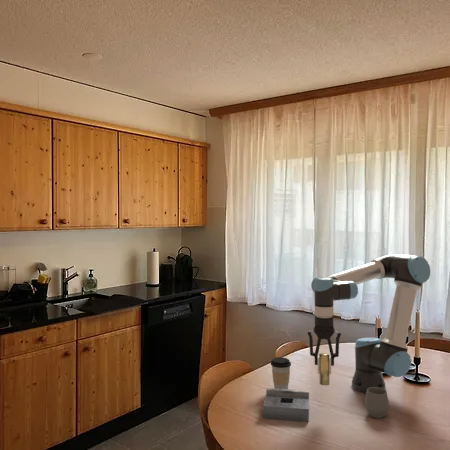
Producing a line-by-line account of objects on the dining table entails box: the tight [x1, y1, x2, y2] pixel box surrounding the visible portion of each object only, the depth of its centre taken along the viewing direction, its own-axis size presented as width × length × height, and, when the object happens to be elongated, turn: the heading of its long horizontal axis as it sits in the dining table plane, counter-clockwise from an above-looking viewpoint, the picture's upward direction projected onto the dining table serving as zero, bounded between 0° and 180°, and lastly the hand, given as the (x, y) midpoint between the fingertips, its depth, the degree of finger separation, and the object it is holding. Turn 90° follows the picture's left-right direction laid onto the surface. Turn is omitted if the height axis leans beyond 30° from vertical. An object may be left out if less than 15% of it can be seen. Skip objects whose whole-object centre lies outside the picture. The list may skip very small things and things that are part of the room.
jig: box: [262, 387, 310, 423], centre depth 184 cm, size 18×14×7 cm
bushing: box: [318, 352, 330, 386], centre depth 183 cm, size 4×4×12 cm
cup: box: [364, 387, 390, 419], centre depth 181 cm, size 10×9×10 cm
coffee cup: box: [270, 357, 292, 389], centre depth 206 cm, size 9×9×15 cm
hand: (324, 372), depth 183 cm, fingers closed on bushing, 4 cm apart
